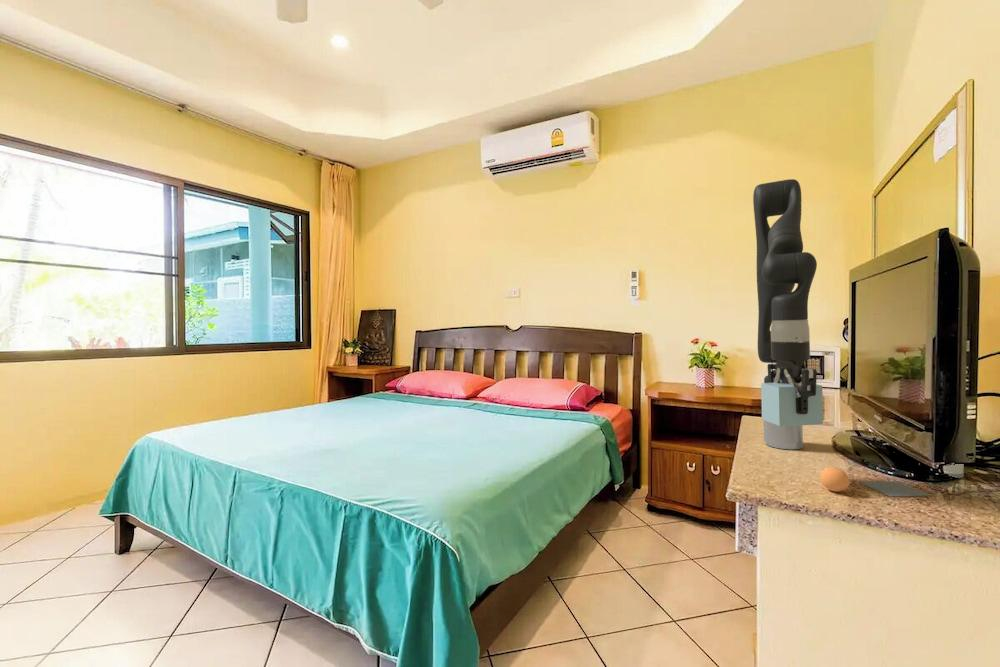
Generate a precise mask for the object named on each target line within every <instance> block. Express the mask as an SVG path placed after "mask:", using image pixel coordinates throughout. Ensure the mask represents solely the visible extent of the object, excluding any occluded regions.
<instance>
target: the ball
mask: <svg viewBox="0 0 1000 667" xmlns="http://www.w3.org/2000/svg"><path fill="white" fill-rule="evenodd" d="M819 480H820V482H821V484H822V486H824V487H825V489H827V490H829V491H832V492H843V491H845V490H847V488H848V487H849V486H850V478H849V476H848V474H847V472H845V471H844V470H843V469H841V468H838V467H836V466H829V467H825V468H824V469H822V470H821V471H820V474H819Z"/></svg>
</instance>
